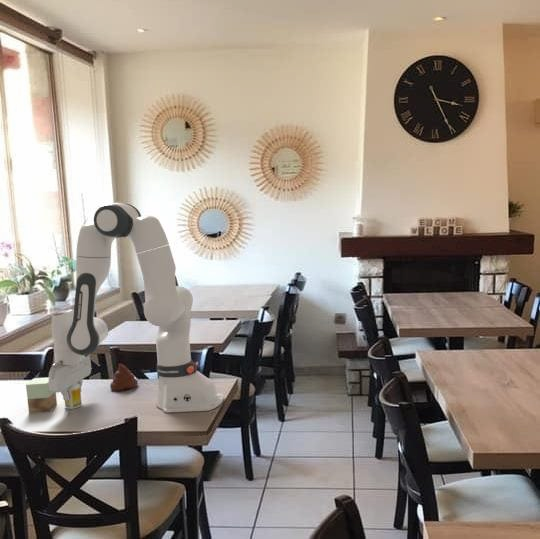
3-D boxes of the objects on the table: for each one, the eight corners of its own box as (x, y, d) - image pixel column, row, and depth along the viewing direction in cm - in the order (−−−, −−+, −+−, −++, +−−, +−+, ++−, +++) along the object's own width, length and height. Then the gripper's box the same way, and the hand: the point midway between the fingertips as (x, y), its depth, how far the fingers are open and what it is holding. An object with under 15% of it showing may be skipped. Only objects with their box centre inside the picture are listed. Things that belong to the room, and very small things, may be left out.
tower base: (57, 404, 201) (55, 391, 201) (49, 412, 195) (48, 397, 194) (36, 406, 201) (35, 392, 201) (29, 413, 194) (27, 399, 194)
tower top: (55, 390, 201) (53, 376, 200) (48, 397, 194) (46, 383, 193) (35, 392, 201) (33, 378, 200) (27, 399, 194) (25, 384, 193)
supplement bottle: (63, 409, 195) (60, 382, 194) (67, 404, 201) (64, 377, 200) (80, 408, 196) (77, 381, 195) (83, 402, 201) (80, 376, 200)
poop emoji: (112, 393, 210) (109, 368, 209) (108, 387, 218) (106, 363, 216) (139, 388, 214) (137, 363, 213) (135, 382, 221) (133, 358, 220)
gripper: (58, 366, 185) (63, 407, 187) (92, 349, 205) (96, 386, 207) (41, 366, 187) (46, 407, 189) (76, 349, 207) (80, 386, 208)
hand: (72, 396), depth 198 cm, fingers closed on supplement bottle, 5 cm apart
